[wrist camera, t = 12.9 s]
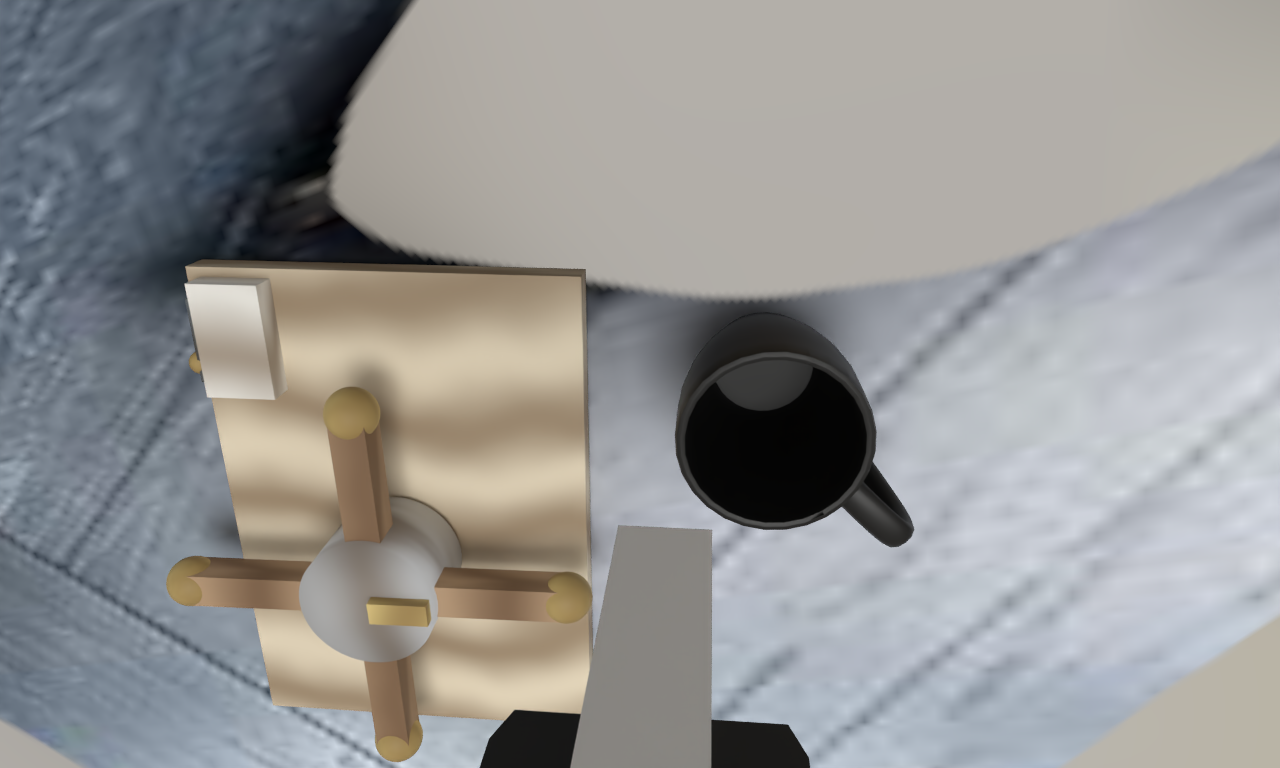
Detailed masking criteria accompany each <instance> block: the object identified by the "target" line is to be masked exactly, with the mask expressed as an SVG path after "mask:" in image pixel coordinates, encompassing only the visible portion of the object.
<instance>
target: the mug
mask: <svg viewBox="0 0 1280 768" xmlns="http://www.w3.org/2000/svg"><path fill="white" fill-rule="evenodd" d="M675 443H676V456H677V459H678V463H679V466H680V469H681V472H682V475H683V476H684V478H685V480H686V481H687V483H688V485H689V487H690V488H691V490H692V491H693V493H694V494H695V495H696V496H697V497H698V498H699V499H700V500H701V501H702V502H703V503H704V504H705V505H706V506H707V507H708V508H710V509H711V510H713V511H714V512H716V513H717V514H719V515H720V516H722V517H723V518H725V519H728V520H730V521H733V522H735V523H738V524H740V525H743V526H747V527H753V528H758V529H763V530H785V529H791V528H795V527H800V526H805V525H808V524H811V523H813V522H816V521H818V520H820V519H823V518H825V517H827V516H829V515H830V514H832V513H833V512H835V511H836V510H837V509H839V508H840V507H843V508H844V509H845V510H846V511H847V512H848V513H849V514H850V515H851V516H852V517H853V518H854V519H855V520H856V521H857V522H858V523H859V524H861V525H862V526H863V527H864V528H865V529H866V530H867V531H868V532H869V533H871V534H872V535H873V536H874V537H875V538H876V539H878V540H879V541H880V542H882V543H883V544H885V545H887V546H889V547H899V546H900V545H902V544H904V543H906V542H907V541H908V540H909V539H910V538H911V537H912V534H913V531H914V527H913V524H912V521H911V518H910V516H909V515H908V513H907V511H906V509H905V508H904V506H903V505H902V503H901V502H900V500H899V499H898V497H897V496H896V494H895V493H894V491H893V490H892V488H891V487H890V485H889V484H888V483H887V481H886V480H885V478H884V477H883V476H882V474H881V473H880V471H879V470H878V469H877V467H876V466H875V464H874V463H873V462H872V461H873V458H874V454H875V450H876V426H875V422H874V417H873V412H872V409H871V407H870V404H869V402H868V400H867V398H866V395H865V393H864V391H863V389H862V387H861V384H860V382H859V380H858V378H857V376H856V374H855V372H854V370H853V368H852V366H851V365H850V364H849V362H848V361H847V360H846V359H845V358H844V356H843V355H842V354H841V353H840V352H839V351H838V349H837V348H836V347H835V346H834V345H833V344H832V343H831V342H830V341H829V340H828V339H826V338H825V337H824V336H822V335H821V334H819V333H818V332H817V331H815V330H814V329H813V328H811V327H809V326H807V325H805V324H803V323H801V322H798V321H796V320H794V319H791V318H788V317H785V316H782V315H778V314H773V313H755V314H751V315H747V316H743V317H741V318H739V319H737V320H735V321H733V322H732V323H730V324H729V325H728V326H727V327H725V328H724V329H723V330H721V331H720V332H719V333H718V334H716V335H715V336H714V337H713V338H712V339H711V340H710V341H709V342H708V343H707V344H706V346H705V347H704V348H703V349H702V351H701V352H700V353H699V354H698V356H697V357H696V359H695V360H694V362H693V364H692V366H691V368H690V370H689V373H688V375H687V377H686V379H685V381H684V384H683V386H682V390H681V395H680V400H679V405H678V412H677V421H676V431H675Z"/></svg>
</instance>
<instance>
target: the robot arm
mask: <svg viewBox="0 0 1280 768" xmlns="http://www.w3.org/2000/svg"><path fill="white" fill-rule="evenodd" d="M711 675H712V530H704V529H683V528H662V527H641V526H621V525H618V530H617V535H616V540H615V545H614V550H613V555H612V560H611V565H610V570H609V575H608V580H607V585H606V590H605V595H604V600H603V605H602V610H601V615H600V620H599V625H598V630H597V635H596V641H595V646H594V651H593V656H592V661H591V666H590V671H589V676H588V681H587V686H586V691H585V696H584V701H583V706H582V711H581V714H575V713H559V712H544V711H528V710H514V711H513V712H512V713H511V714H510V715H509V717H508V718H507V719H506V720H505V721H504V722H503V724H502V725H501V726H500V727H499V728H498V729H497V730H496V732H495V733H494V734H493V735H492V736H491V737H490V738H489V741H488V744H487V747H486V750H485V753H484V756H483V759H482V762H481V766H480V768H810V763H809V757H808V756H807V754H806V753H805V751H804V749H803V748H802V746H801V745H800V743H799V741H798V740H797V738H796V737H795V735H794V733H793V732H792V730H791V729H790V727H789V725H785V724H770V723H754V722H738V721H723V720H711Z"/></svg>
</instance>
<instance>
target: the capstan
mask: <svg viewBox="0 0 1280 768" xmlns="http://www.w3.org/2000/svg"><path fill="white" fill-rule="evenodd" d="M323 420H324V423H325V425H326V427H327V433H328V439H329V445H330V451H331V458H332V464H333V470H334V477H335V483H336V489H337V495H338V502H339V508H340V514H341V520H342V524H341V526H340V527H339V528H338V529H337V531H336V532H335V533H334V535H333V536H332V537H331V538H330V540H329V541H328V542H327V544H326V545H325V546H324V547H323V549H322V550H321V551H320V553H319V554H318V555H317V557H316V558H315V559H314V560H313V562H311V561H287V560H263V559H239V558H216V557H203V556H191V557H187V558H184V559H182V560H181V561H179V562H178V563H176V564H175V565H174V566H173V567H172V569H171V570H170V572H169V574H168V577H167V582H166V585H167V590H168V593H169V595H170V596H171V598H172V599H173V600H175V601H176V602H177V603H179V604H182V605H185V606H214V607H236V608H257V609H278V610H300V611H302V613H303V615H304V618H305V620H306V621H307V623H308V625H309V626H310V628H311V629H312V630H313V632H314V633H315V634H316V635H317V636H318V637H319V638H320V639H321V640H322V641H323V642H324V643H326V644H327V645H328V646H330V647H331V648H333V649H334V650H336V651H338V652H340V653H341V654H344V655H346V656H348V657H351V658H354V659H357V660H362V661H364V665H365V671H366V677H367V684H368V690H369V696H370V702H371V709H372V715H373V721H374V728H375V734H376V735H375V744H376V748H377V750H378V752H379V754H380V755H381V756H382V757H383V758H385V759H386V760H389V761H392V762H401V761H404V760H407V759H409V758H410V757H412V756H413V755H414V754H415V753H416V752H417V750H418V749H419V747H420V745H421V742H422V738H423V731H422V727H421V724H420V722H419V717H418V709H417V702H416V694H415V687H414V679H413V672H412V664H411V657H410V655H411V654H413V653H414V652H416V651H417V650H418V649H420V648H421V647H422V646H423V645H424V644H425V642H426V641H427V639H428V638H429V636H430V634H431V632H432V630H433V628H434V625H435V623H436V621H437V619H438V617H449V618H470V619H492V620H513V621H534V622H556V623H563V624H569V623H574V622H577V621H579V620H580V619H582V618H583V617H584V616H585V615H586V614H587V613H588V611H589V609H590V607H591V604H592V590H591V587H590V585H589V583H588V582H587V580H586V579H585V578H584V577H582V576H581V575H579V574H577V573H575V572H569V571H566V572H548V571H524V570H501V569H477V568H461V564H462V553H461V547H460V544H459V541H458V539H457V536H456V534H455V533H454V531H453V529H452V528H451V526H450V525H449V524H448V523H447V522H446V521H445V520H444V519H443V518H442V517H441V516H440V515H439V514H438V513H436V512H435V511H434V510H432V509H431V508H429V507H427V506H426V505H423V504H421V503H419V502H416V501H413V500H410V499H406V498H400V497H389V492H388V484H387V477H386V469H385V462H384V454H383V447H382V439H381V432H380V424H379V420H380V407H379V404H378V402H377V400H376V398H375V397H374V396H373V395H372V394H371V393H370V392H368V391H367V390H365V389H363V388H359V387H344V388H341V389H339V390H337V391H335V392H334V393H333V394H332V395H330V397H329V398H328V399H327V401H326V403H325V405H324V409H323Z"/></svg>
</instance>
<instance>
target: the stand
mask: <svg viewBox="0 0 1280 768" xmlns="http://www.w3.org/2000/svg"><path fill="white" fill-rule="evenodd" d="M185 267H186V272H187V277H188V283H185V289H186V294H187V298H186V299H185V302H186V306H187V311H188V316H189V321H190V326H191V331H192V336H193V341H194V346H195V351H196V352H194V353H193V354H192V355H191V356H190V359H189V365H190V368H191V369H192V370H193V371H194V372H196V373H200V375H201V380H202V382H204V383H205V388H206V393H207V397H212V402H213V407H214V412H215V417H216V422H217V427H218V432H219V437H220V442H221V447H222V452H223V457H224V462H225V467H226V472H227V477H228V482H229V487H230V492H231V497H232V502H233V507H234V512H235V517H236V522H237V527H238V532H239V537H240V542H241V547H242V552H243V557H244V559H263V560H287V561H311V562H313V560H314V559H315V558H316V557H317V555H318V554H319V553H320V551H321V550H322V549H323V547H324V546H325V545H326V544H327V542H328V541H329V540H330V538H331V537H332V536H333V535H334V533H335V532H336V531H337V529H338V528H339V527H340V526H341V524H342V520H341V514H340V508H339V502H338V495H337V489H336V483H335V477H334V470H333V464H332V458H331V451H330V445H329V439H328V433H327V427H326V425H325V423H324V420H323V409H324V405H325V403H326V401H327V399H328V398H329V397H330V395H332V394H333V393H334V392H335V391H337V390H339V389H341V388H344V387H359V388H363V389H365V390H367V391H368V392H370V393H371V394H372V395H373V396H374V397H375V398H376V400H377V402H378V404H379V407H380V420H379V424H380V432H381V439H382V447H383V454H384V462H385V469H386V477H387V484H388V492H389V497H400V498H406V499H410V500H413V501H416V502H419V503H421V504H423V505H426V506H427V507H429V508H431V509H432V510H434V511H435V512H436V513H438V514H439V515H440V516H441V517H442V518H443V519H444V520H445V521H446V522H447V523H448V524H449V525H450V526H451V528H452V529H453V531H454V533H455V534H456V536H457V539H458V541H459V544H460V547H461V553H462V564H461V568H477V569H501V570H524V571H548V572H566V571H569V572H575V573H577V574H579V575H581V576H582V577H584V578H585V579H586V580H587V582H588V583H589V585H590V587H591V590H592V581H591V529H590V477H589V424H588V372H587V320H586V270H585V269H558V268H519V267H480V266H441V265H401V264H362V263H323V262H283V261H244V260H205V259H202V260H200V261H197V262H195V263H192V264H190V265H188V266H185ZM254 612H255V617H256V622H257V627H258V632H259V637H260V642H261V647H262V652H263V657H264V661H265V666H266V671H267V676H268V681H269V686H270V691H271V696H272V701H273V705H278V706H293V707H308V708H324V709H339V710H354V711H369V712H372V709H371V702H370V696H369V690H368V684H367V677H366V671H365V665H364V661H362V660H357V659H354V658H351V657H348V656H346V655H344V654H341V653H340V652H338V651H336V650H334V649H333V648H331V647H330V646H328V645H327V644H326V643H324V642H323V641H322V640H321V639H320V638H319V637H318V636H317V635H316V634H315V633H314V632H313V630H312V629H311V628H310V626H309V625H308V623H307V621H306V620H305V618H304V615H303V613H302V611H300V610H278V609H257V608H254ZM592 656H593V633H592V604H591V607H590V609H589V611H588V613H587V614H586V615H585V616H584V617H583V618H582V619H580V620H579V621H577V622H574V623H569V624H563V623H556V622H534V621H513V620H492V619H470V618H449V617H438V619H437V621H436V623H435V625H434V628H433V630H432V632H431V634H430V636H429V638H428V639H427V641H426V642H425V644H424V645H423V646H422V647H421V648H420V649H418V650H417V651H416V652H414V653H413V654H411V655H410V657H411V664H412V672H413V679H414V687H415V694H416V702H417V709H418V715H431V716H446V717H461V718H477V719H492V720H506V719H507V718H508V717H509V715H510V714H511V713H512V712H513V711H514V710H528V711H544V712H559V713H575V714H581V711H582V706H583V701H584V696H585V691H586V686H587V681H588V676H589V671H590V666H591V661H592Z"/></svg>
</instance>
